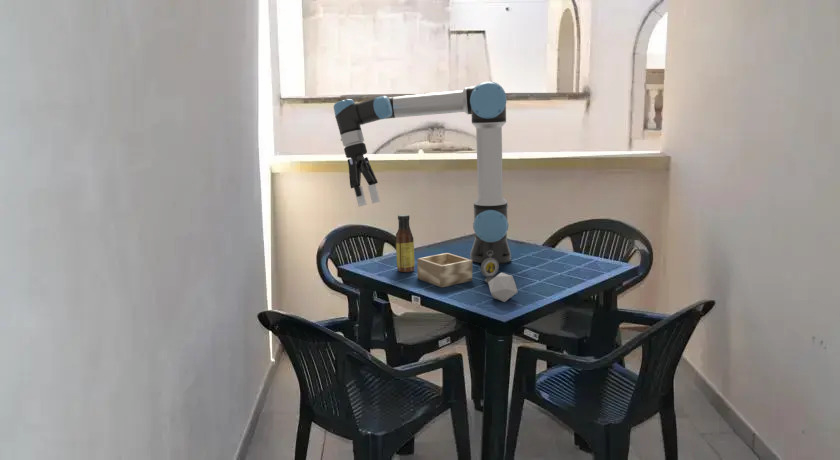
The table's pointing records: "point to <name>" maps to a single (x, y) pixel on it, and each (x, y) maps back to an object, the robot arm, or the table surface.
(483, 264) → the pocket watch
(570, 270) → the table surface
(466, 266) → the crate
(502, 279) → the die
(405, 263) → the sauce bottle
